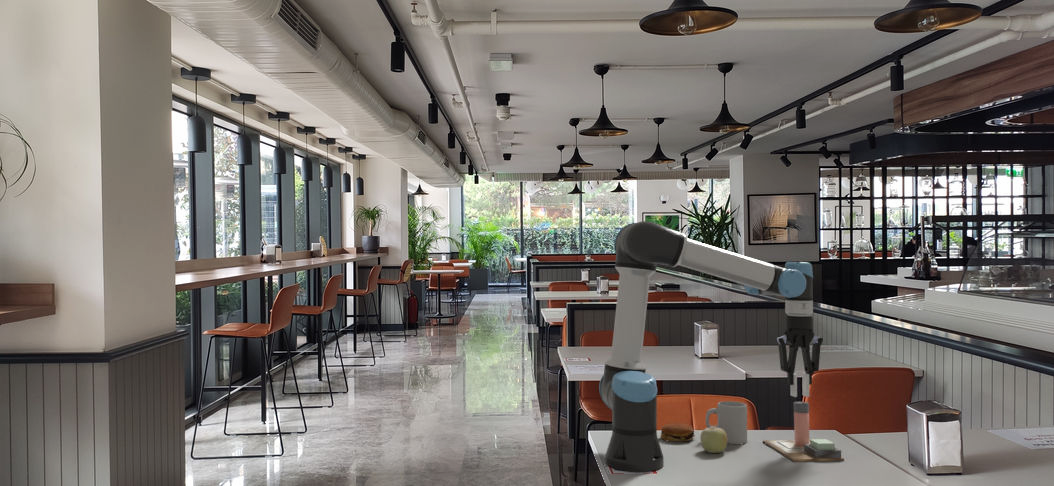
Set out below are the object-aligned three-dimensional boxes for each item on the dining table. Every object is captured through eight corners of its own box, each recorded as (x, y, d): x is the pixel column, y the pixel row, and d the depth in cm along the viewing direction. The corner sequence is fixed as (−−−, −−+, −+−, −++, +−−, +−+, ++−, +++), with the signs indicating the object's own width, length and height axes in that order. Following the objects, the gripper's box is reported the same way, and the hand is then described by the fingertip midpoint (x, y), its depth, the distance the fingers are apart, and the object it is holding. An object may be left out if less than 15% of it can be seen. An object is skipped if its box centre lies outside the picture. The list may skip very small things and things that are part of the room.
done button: (818, 450, 191) (818, 443, 191) (810, 445, 195) (810, 439, 195) (834, 450, 191) (834, 443, 191) (826, 445, 196) (826, 439, 196)
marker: (797, 447, 201) (796, 404, 201) (792, 443, 205) (791, 401, 205) (812, 446, 201) (811, 404, 201) (806, 443, 205) (805, 401, 205)
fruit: (731, 455, 194) (730, 426, 194) (704, 455, 194) (704, 426, 194) (723, 448, 202) (723, 420, 202) (697, 448, 202) (697, 420, 202)
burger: (655, 439, 212) (655, 423, 213) (671, 434, 219) (671, 419, 219) (684, 445, 206) (684, 429, 206) (700, 439, 212) (700, 424, 213)
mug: (744, 437, 214) (744, 401, 214) (749, 445, 205) (749, 407, 206) (704, 436, 216) (704, 400, 216) (707, 443, 207) (707, 406, 207)
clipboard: (793, 461, 188) (793, 451, 188) (762, 442, 208) (762, 433, 208) (844, 460, 189) (843, 450, 190) (808, 441, 209) (808, 432, 209)
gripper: (778, 316, 201) (778, 398, 200) (832, 315, 202) (833, 398, 201) (767, 314, 208) (767, 394, 208) (819, 313, 209) (820, 393, 209)
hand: (799, 395), depth 204 cm, fingers open, 3 cm apart
